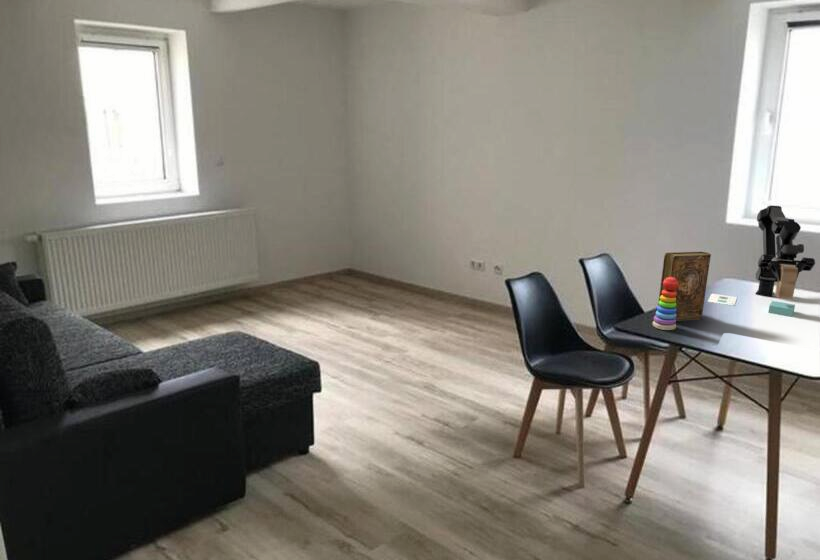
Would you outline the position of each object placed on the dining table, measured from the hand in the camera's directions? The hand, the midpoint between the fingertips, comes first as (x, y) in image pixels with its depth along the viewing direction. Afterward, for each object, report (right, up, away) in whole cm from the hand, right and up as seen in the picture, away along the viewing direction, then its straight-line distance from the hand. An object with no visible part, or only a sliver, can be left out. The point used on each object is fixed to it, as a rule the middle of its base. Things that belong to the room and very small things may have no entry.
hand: (787, 281), depth 251 cm
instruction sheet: (-15, -8, +20) cm, 26 cm away
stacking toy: (-54, -17, -15) cm, 58 cm away
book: (-43, -14, -5) cm, 46 cm away
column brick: (0, -6, +3) cm, 7 cm away
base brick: (0, -12, +5) cm, 13 cm away
